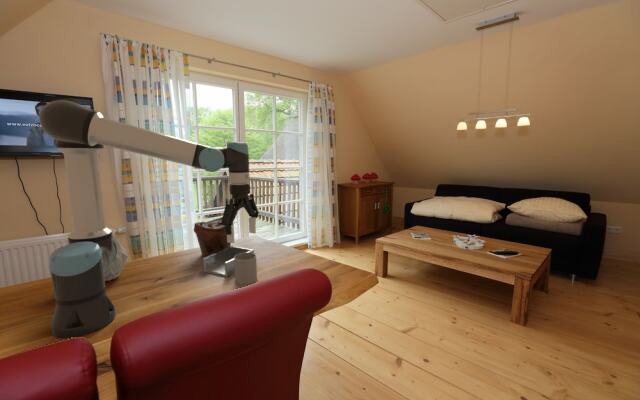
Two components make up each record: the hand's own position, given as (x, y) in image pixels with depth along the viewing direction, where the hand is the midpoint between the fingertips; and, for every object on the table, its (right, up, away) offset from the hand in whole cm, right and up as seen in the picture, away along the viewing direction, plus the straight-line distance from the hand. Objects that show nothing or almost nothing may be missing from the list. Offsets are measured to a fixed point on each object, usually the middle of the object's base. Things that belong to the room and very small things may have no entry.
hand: (242, 237), depth 117 cm
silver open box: (-9, -15, +15) cm, 23 cm away
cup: (+1, -17, +2) cm, 18 cm away
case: (-22, -12, +32) cm, 40 cm away
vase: (-55, -17, +4) cm, 58 cm away
